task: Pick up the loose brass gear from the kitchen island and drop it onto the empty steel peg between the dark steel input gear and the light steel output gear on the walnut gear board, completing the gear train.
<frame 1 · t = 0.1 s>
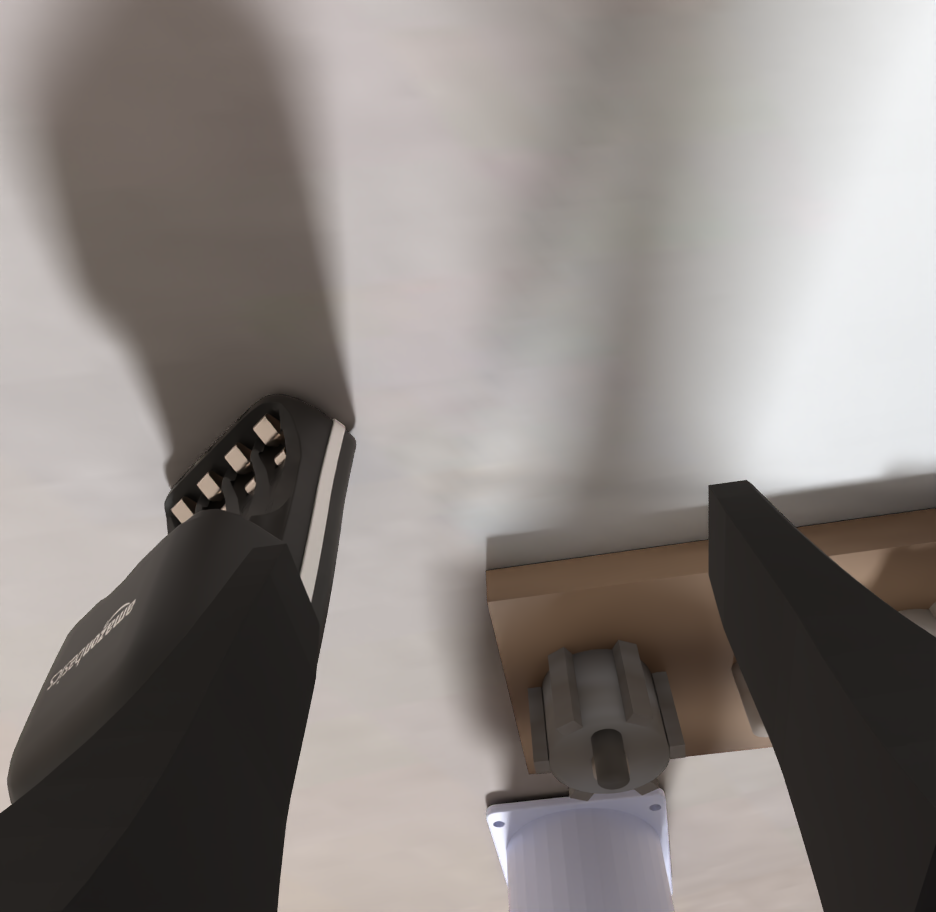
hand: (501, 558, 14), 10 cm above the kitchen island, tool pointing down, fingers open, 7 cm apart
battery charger: (249, 457, 25), on the kitchen island
gear board: (733, 635, 30), on the kitchen island
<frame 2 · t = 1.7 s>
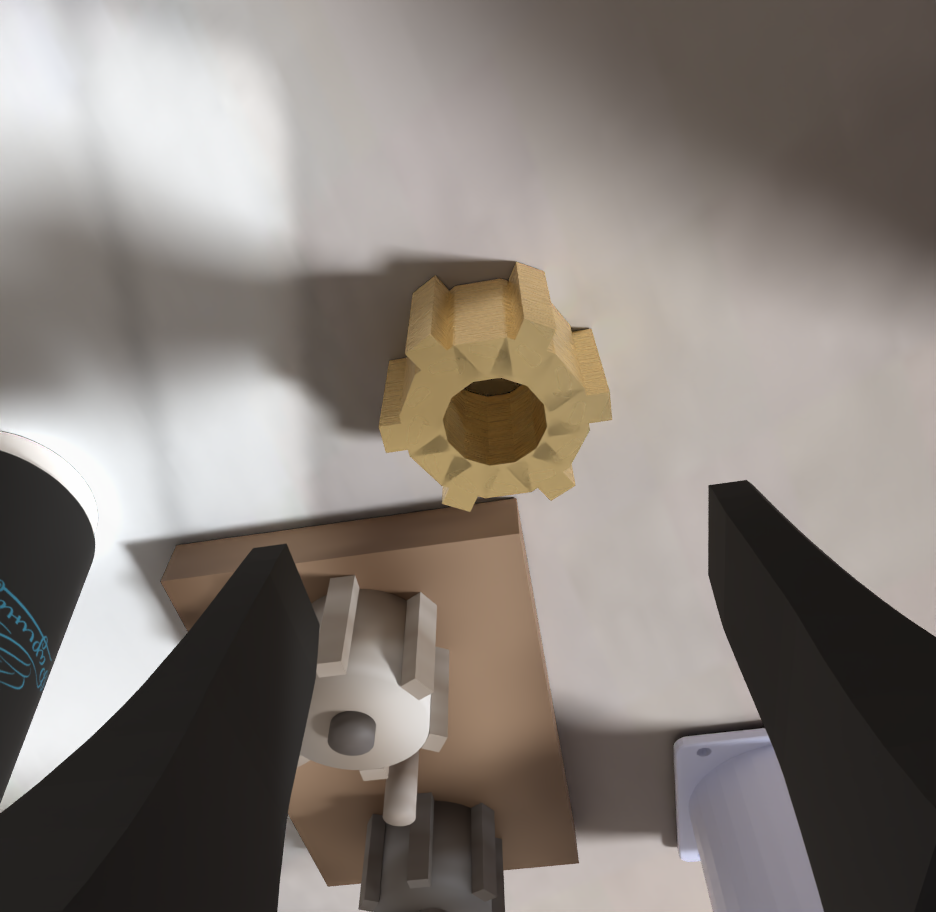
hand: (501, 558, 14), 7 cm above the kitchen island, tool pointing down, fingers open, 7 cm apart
dixie cup: (13, 496, 22), on the kitchen island
brass gear: (491, 357, 20), on the kitchen island
gear board: (406, 707, 28), on the kitchen island
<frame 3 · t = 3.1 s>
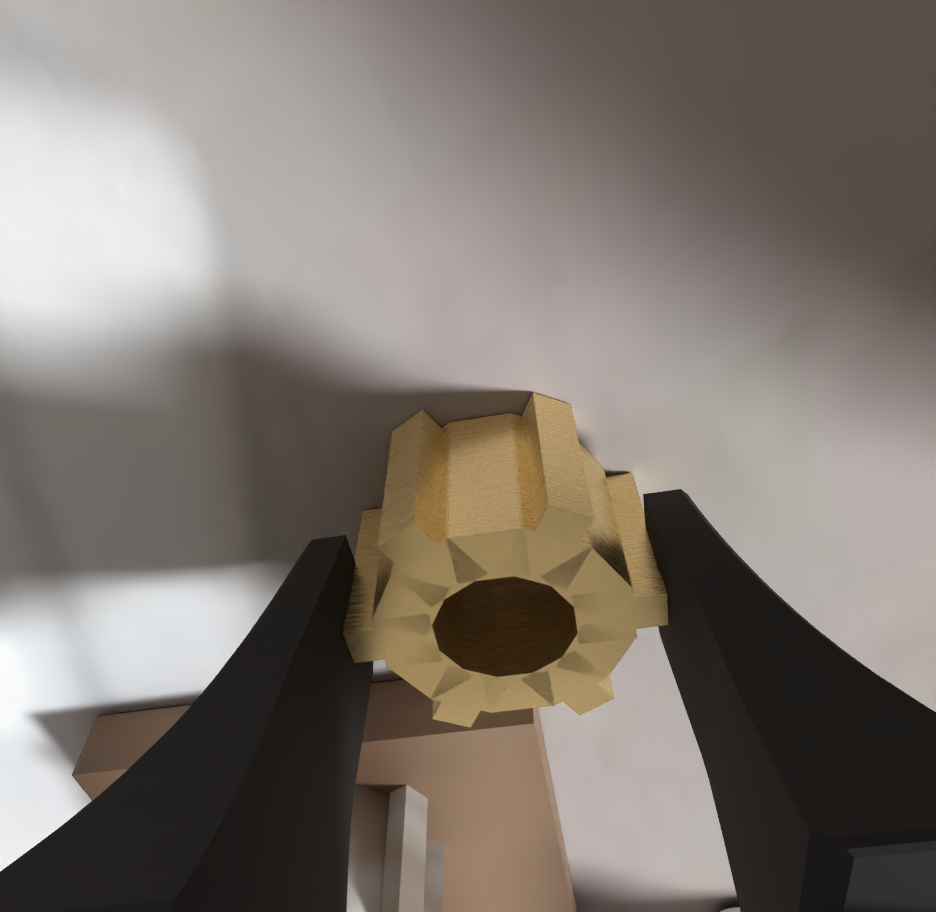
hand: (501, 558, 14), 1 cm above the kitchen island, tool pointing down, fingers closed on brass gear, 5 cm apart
brass gear: (498, 506, 15), on the kitchen island, touching gripper
gear board: (393, 879, 23), on the kitchen island
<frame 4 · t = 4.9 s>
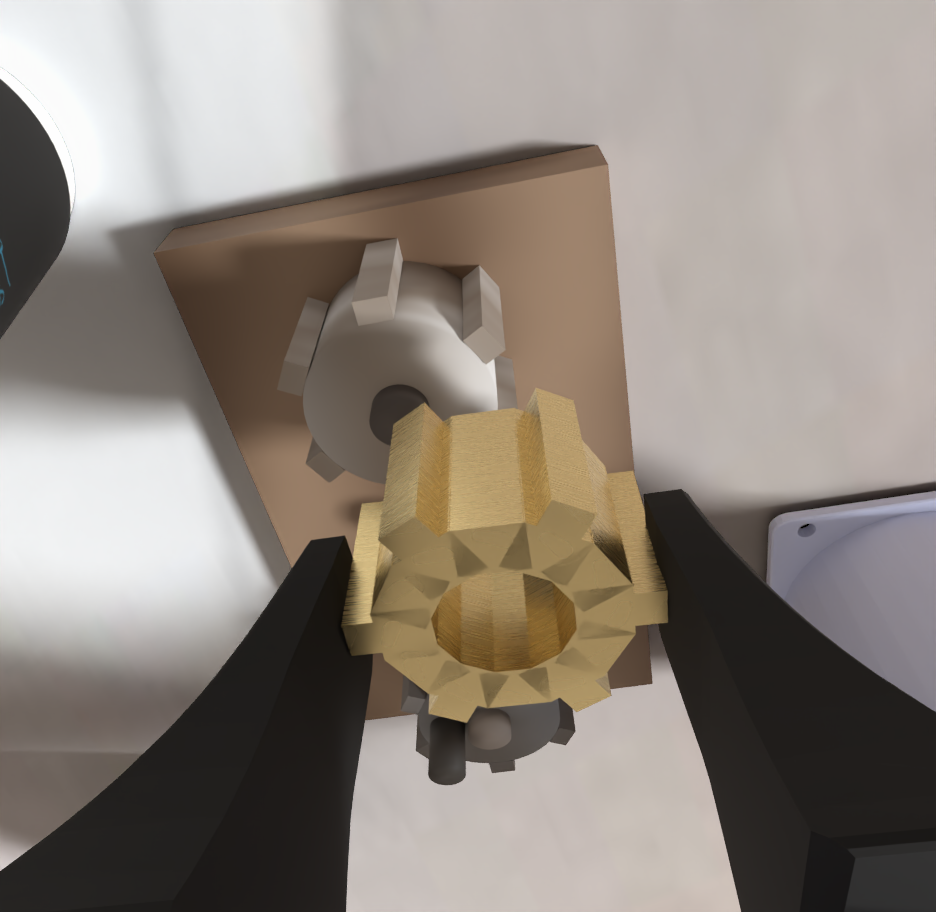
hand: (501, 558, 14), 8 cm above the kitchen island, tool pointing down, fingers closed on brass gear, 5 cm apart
brass gear: (497, 502, 15), point 7 cm above the kitchen island, touching gripper
gear board: (453, 478, 23), on the kitchen island
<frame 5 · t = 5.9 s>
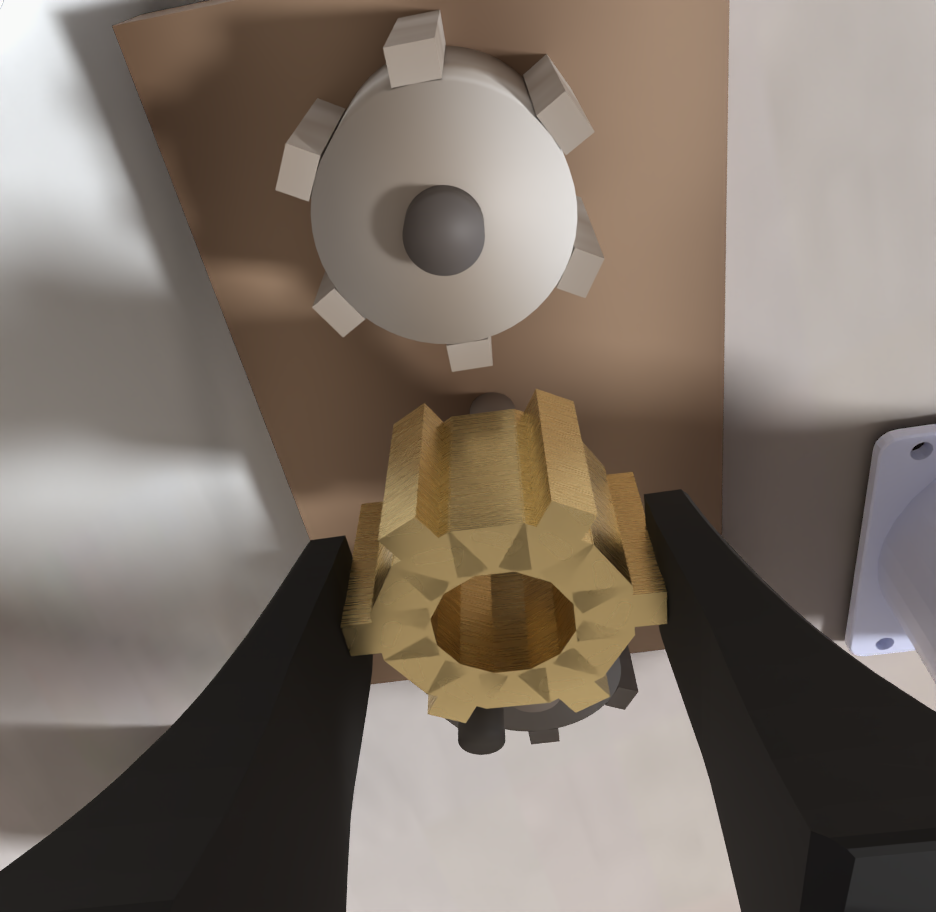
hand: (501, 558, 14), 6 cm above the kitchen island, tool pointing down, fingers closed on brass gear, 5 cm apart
brass gear: (497, 502, 15), point 5 cm above the kitchen island, touching gripper
gear board: (490, 377, 19), on the kitchen island
when the fingers open (6 cm above the kitchen island, at t = 6.5 s): brass gear drops 3 cm, resting on gear board.
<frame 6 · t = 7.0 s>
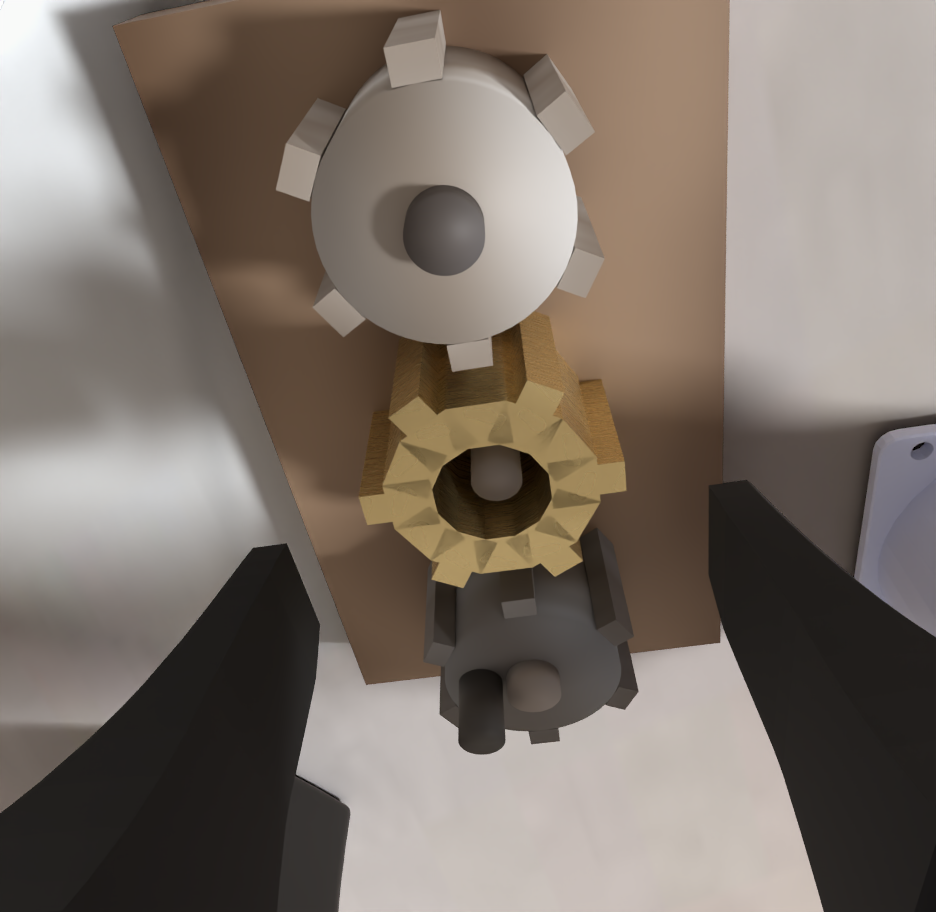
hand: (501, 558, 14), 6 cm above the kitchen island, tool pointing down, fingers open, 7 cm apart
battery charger: (252, 780, 28), on the kitchen island
brass gear: (488, 409, 17), point 1 cm above the kitchen island, touching gear board
gear board: (490, 377, 19), on the kitchen island
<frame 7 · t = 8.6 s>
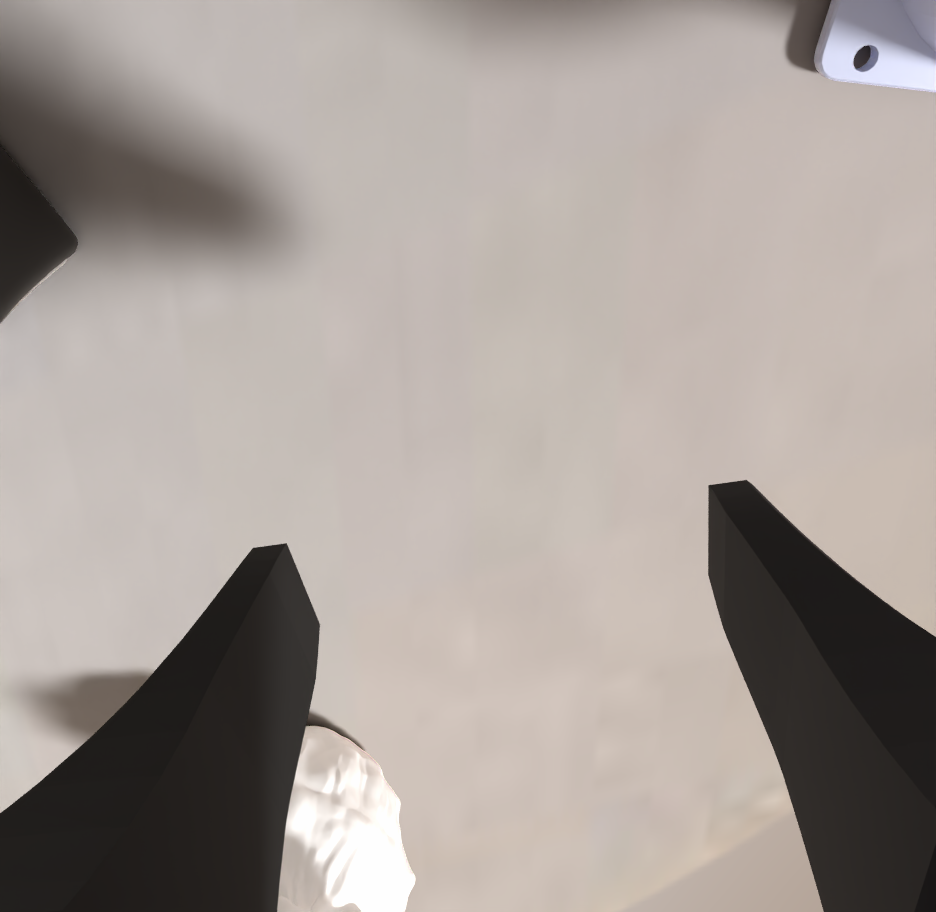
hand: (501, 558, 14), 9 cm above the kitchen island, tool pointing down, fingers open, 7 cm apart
bust: (318, 748, 33), on the kitchen island
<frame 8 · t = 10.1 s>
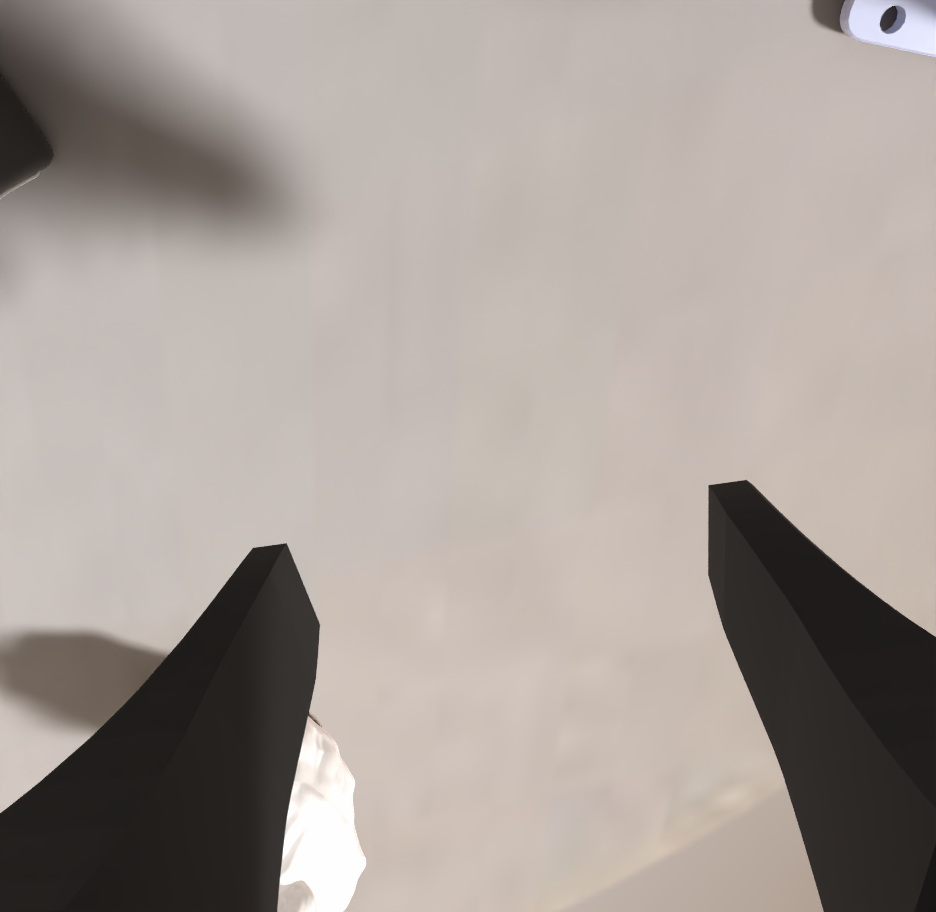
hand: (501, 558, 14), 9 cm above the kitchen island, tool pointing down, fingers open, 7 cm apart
bust: (273, 723, 32), on the kitchen island
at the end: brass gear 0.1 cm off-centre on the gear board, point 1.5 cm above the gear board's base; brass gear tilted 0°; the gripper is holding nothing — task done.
